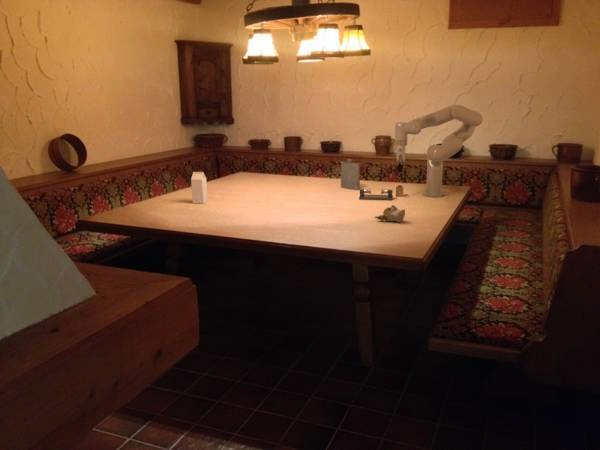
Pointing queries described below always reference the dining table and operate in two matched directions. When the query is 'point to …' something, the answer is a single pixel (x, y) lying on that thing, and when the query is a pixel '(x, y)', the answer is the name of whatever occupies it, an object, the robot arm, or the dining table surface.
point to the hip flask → (350, 175)
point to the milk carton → (199, 187)
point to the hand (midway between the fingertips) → (400, 170)
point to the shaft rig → (375, 197)
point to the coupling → (399, 191)
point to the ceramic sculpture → (392, 214)
